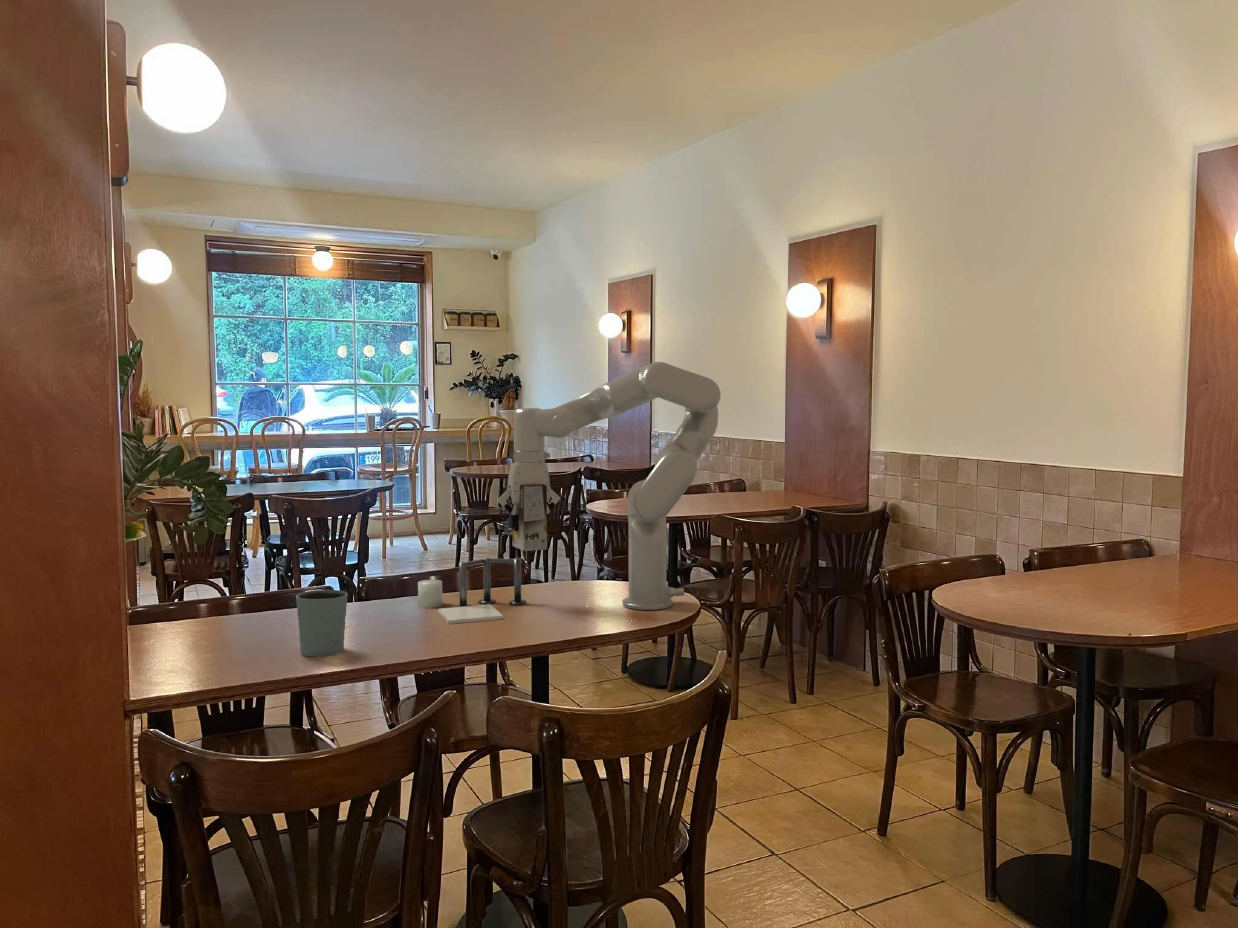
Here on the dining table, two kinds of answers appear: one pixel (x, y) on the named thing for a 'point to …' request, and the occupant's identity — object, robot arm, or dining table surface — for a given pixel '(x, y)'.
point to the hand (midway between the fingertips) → (529, 529)
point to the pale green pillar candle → (430, 593)
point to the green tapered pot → (321, 621)
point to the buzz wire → (489, 581)
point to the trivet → (470, 614)
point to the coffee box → (531, 519)
